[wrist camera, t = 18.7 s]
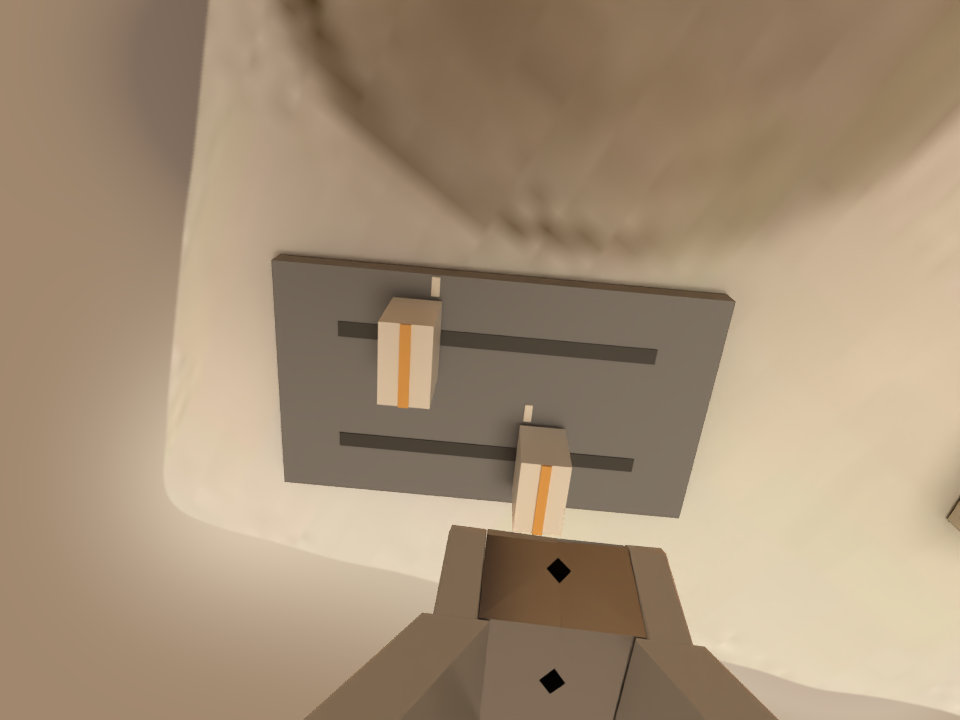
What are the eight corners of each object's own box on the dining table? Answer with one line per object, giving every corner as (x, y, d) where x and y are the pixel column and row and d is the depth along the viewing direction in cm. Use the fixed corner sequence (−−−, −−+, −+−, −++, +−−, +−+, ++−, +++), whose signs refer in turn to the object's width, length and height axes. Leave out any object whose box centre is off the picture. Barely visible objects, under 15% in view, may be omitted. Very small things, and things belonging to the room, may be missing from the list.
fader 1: (442, 301, 36) (433, 327, 31) (438, 376, 38) (429, 410, 33) (392, 296, 36) (377, 322, 32) (391, 372, 38) (376, 405, 33)
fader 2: (565, 429, 39) (572, 468, 35) (555, 492, 41) (561, 537, 37) (519, 425, 39) (521, 464, 35) (512, 488, 41) (512, 532, 37)
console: (727, 294, 37) (736, 302, 35) (673, 505, 43) (679, 520, 41) (280, 254, 37) (270, 260, 35) (291, 469, 43) (283, 483, 42)
